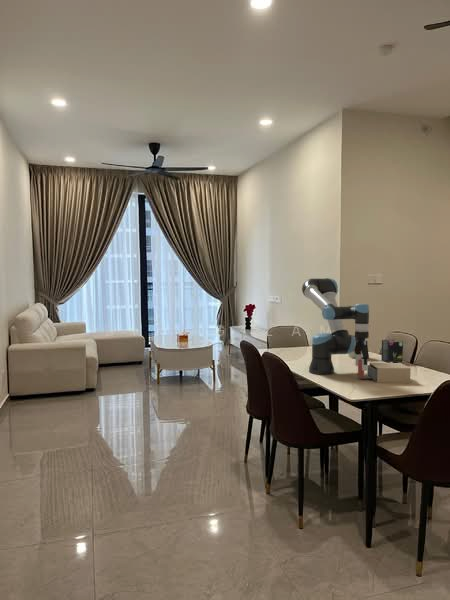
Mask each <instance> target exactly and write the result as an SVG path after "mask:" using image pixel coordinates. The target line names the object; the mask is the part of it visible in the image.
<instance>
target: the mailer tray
mask: <svg viewBox="0 0 450 600" xmlns="http://www.w3.org/2000/svg"><path fill="white" fill-rule="evenodd" d="M366 373H367V375H365V371H362V359H361V360H358V366H357V378H358V379H371V380H373V381H375V380H377V368H376V367H374V366H373V365H370V364H367V372H366Z"/></svg>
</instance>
